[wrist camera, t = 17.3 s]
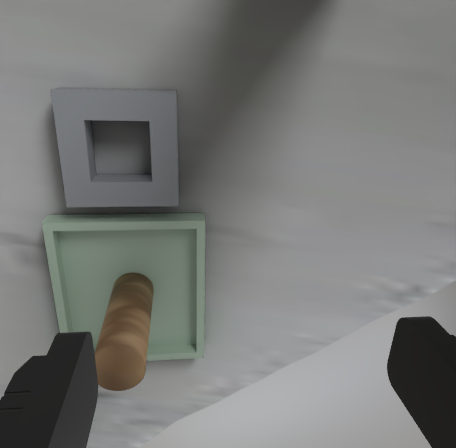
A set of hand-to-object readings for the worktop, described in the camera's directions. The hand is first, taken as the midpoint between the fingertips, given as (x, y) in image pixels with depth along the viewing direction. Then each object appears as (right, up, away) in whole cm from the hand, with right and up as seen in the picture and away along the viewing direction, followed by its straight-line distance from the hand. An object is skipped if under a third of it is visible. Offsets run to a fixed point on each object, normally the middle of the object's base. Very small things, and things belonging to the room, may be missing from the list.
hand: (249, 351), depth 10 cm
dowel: (-12, -5, +39) cm, 41 cm away
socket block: (-12, +12, +33) cm, 37 cm away
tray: (-13, -5, +40) cm, 42 cm away
